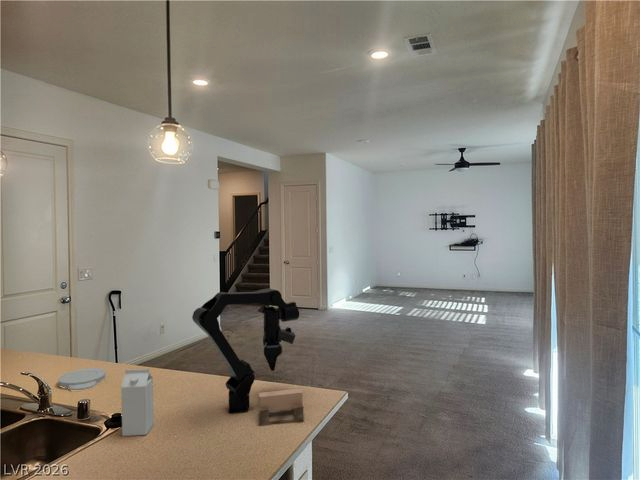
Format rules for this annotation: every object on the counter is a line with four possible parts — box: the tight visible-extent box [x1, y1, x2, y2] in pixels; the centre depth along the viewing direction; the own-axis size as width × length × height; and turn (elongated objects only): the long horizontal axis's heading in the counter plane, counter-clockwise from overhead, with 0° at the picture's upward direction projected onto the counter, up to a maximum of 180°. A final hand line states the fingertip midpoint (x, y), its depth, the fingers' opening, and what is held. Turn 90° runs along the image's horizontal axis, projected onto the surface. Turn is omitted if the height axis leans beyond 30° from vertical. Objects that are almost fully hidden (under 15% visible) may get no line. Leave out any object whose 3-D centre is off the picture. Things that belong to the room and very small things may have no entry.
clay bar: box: [258, 388, 304, 411], centre depth 136 cm, size 14×4×5 cm, turn 104°
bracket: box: [258, 404, 305, 426], centre depth 136 cm, size 14×9×5 cm, turn 99°
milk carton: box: [120, 368, 155, 437], centre depth 128 cm, size 7×7×19 cm
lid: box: [57, 367, 107, 391], centre depth 169 cm, size 17×20×3 cm
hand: (272, 366), depth 150 cm, fingers open, 9 cm apart
